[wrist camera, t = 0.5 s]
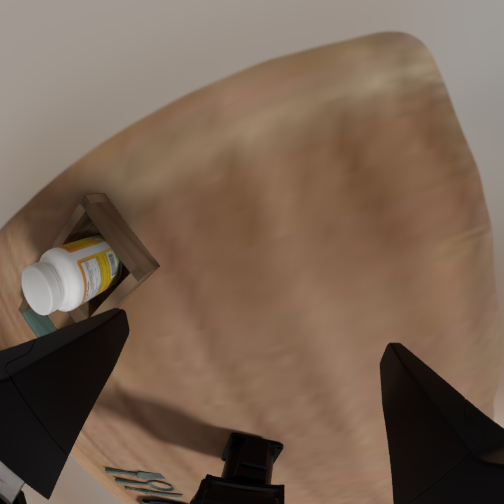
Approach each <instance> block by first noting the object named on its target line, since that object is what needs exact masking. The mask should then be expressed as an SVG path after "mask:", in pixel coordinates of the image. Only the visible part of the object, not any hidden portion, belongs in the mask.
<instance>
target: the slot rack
mask: <svg viewBox="0 0 504 504" xmlns="http://www.w3.org/2000/svg"><path fill="white" fill-rule="evenodd" d="M92 223H94V225H95V226H96V227H97V229H98V230H99V232H100V233H101V234H102V236H103V237H104V239H105V240H106V241H107V243H108V244H109V245H110V247H111V248H112V249H113V251H114V252H115V253H116V255H117V256H118V257H119V259H120V260H121V261H122V263H123V264H124V265H125V266H126V268H127V269H128V270H129V272H130V274H129V275H128V276H127V277H126V278H125V279H124V280H123V282H122V283H121V284H120V285H119V286H118V287H117V288H116V289H115V290H114V291H113V292H112V293H111V295H110V296H109V297H108V298H107V299H106V300H105V301H104V302H103V303H102V304H100V302H99V301H98V300H97V299H96V297H93V298H91V299H90V300H88V301H86V302H85V303H83V304H82V305H80V306H79V307H77V308H75V309H73V310H71V311H67V312H68V313H69V314H70V316H71V317H72V318H73V320H74V321H75V322H76V323H77V322H79V321H82V320H84V319H87V318H89V317H92V316H95V315H97V314H100V313H102V312H105V311H107V310H110V309H113V308H118V307H119V306H120V305H121V304H122V303H123V302H124V301H125V300H126V299H127V298H128V297H129V296H130V295H131V294H132V293H133V292H134V291H135V290H136V289H137V288H138V287H139V286H140V285H141V284H142V283H143V282H144V281H145V280H146V279H147V278H148V277H149V276H150V275H151V274H152V273H153V272H154V271H155V270H156V269H157V268H158V267H160V265H159V264H158V263H157V261H156V260H155V259H154V258H153V257H152V255H151V254H150V253H149V252H148V250H147V249H146V248H145V247H144V245H143V244H142V243H141V241H140V240H139V239H138V238H137V236H136V235H135V234H134V232H133V231H132V230H131V229H130V227H129V226H128V225H127V223H126V222H125V221H124V219H123V218H122V217H121V215H120V214H119V213H118V211H117V210H116V209H115V207H114V206H113V205H112V203H111V202H110V200H109V199H108V198H107V196H106V195H105V194H92V195H85V196H84V198H83V199H82V201H81V202H80V203H79V205H78V206H77V208H76V209H75V211H74V212H73V214H72V215H71V217H70V218H69V220H68V221H67V223H66V224H65V226H64V227H63V229H62V230H61V232H60V233H59V235H58V237H57V238H56V240H55V242H54V243H53V245H52V247H51V248H50V249H52V248H55V247H58V246H61V245H65V244H68V243H71V242H75V241H78V240H81V238H82V237H83V236H84V234H85V233H86V231H87V230H88V229H89V227H90V226H91V225H92ZM19 311H20V313H21V314H22V316H23V317H24V319H25V321H26V322H27V324H28V325H29V327H30V328H31V330H32V331H33V332H34V334H35V335H36V337H37V338H38V337H41V336H43V335H46V334H49V333H51V332H54V331H56V330H57V329H56V328H55V326H54V325H53V323H52V322H51V321H50V319H49V318H48V316H47V315H40V314H38V313H36V312H35V311H34V310H33V309H32V308H31V306H30V305H29V303H28V302H27V300H26V298H25V297H24V299H23V301H22V303H21V306H20V308H19Z"/></svg>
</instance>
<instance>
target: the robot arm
mask: <svg viewBox="0 0 504 504" xmlns="http://www.w3.org/2000/svg"><path fill="white" fill-rule="evenodd" d="M128 335H129V325H128V320H127V315H126V312H125V311H124V310H123V309H119V308H113V309H110V310H107V311H105V312H102V313H100V314H97V315H95V316H92V317H89V318H87V319H84V320H82V321H79V322H77V323H74V324H72V325H69V326H66V327H64V328H61V329H59V330H56V331H54V332H51V333H49V334H46V335H43V336H41V337H38V338H37V339H33V340H30V341H28V342H25V343H22V344H20V345H17V346H14V347H11V348H8V349H4V350H1V351H0V504H27V503H26V499H25V496H24V493H23V491H22V490H21V489H22V487H23V485H24V484H25V483H26V484H27V485H29V486H30V487H31V488H33V489H34V490H35V491H37V492H38V493H39V494H41V495H42V496H44V497H45V498H46V499H49V498H50V496H51V494H52V491H53V489H54V487H55V485H56V482H57V480H58V478H59V476H60V473H61V471H62V469H63V467H64V465H65V462H66V460H67V458H68V456H69V454H70V452H71V449H72V447H73V445H74V443H75V441H76V439H77V437H78V435H79V433H80V431H81V429H82V427H83V425H84V423H85V421H86V419H87V417H88V415H89V413H90V411H91V410H92V408H93V406H94V404H95V402H96V400H97V398H98V396H99V394H100V393H101V391H102V389H103V387H104V385H105V383H106V382H107V380H108V378H109V376H110V374H111V373H112V371H113V369H114V367H115V365H116V363H117V360H118V358H119V356H120V353H121V351H122V349H123V346H124V344H125V342H126V340H127V337H128ZM380 377H381V391H382V406H383V412H384V419H385V425H386V432H387V439H388V447H389V455H390V464H391V474H392V486H393V502H394V504H504V428H502V427H501V426H500V425H498V424H497V423H495V422H494V421H493V420H491V419H490V418H489V417H488V416H486V415H485V414H484V413H482V412H481V411H480V410H479V409H478V408H476V407H475V406H474V405H473V404H472V403H470V402H469V401H468V400H467V399H465V397H464V396H462V395H461V394H460V393H459V392H458V391H457V390H455V389H454V388H453V387H452V386H451V385H450V384H448V383H447V382H446V381H445V380H444V379H443V378H441V377H440V376H439V375H438V374H437V373H435V372H434V371H433V370H432V369H431V368H430V367H428V366H427V365H426V364H425V363H424V362H422V361H421V360H420V359H419V358H418V357H416V356H415V355H414V354H413V353H412V352H410V351H409V350H408V349H407V348H406V347H404V346H403V345H402V344H401V343H389V344H388V345H387V347H386V349H385V352H384V354H383V356H382V359H381V362H380ZM282 450H283V444H281V443H276V442H271V441H266V440H262V439H257V438H253V437H249V436H245V435H241V434H237V433H231V435H230V437H229V440H228V443H227V445H226V448H225V451H224V453H223V456H222V460H223V461H225V465H224V468H223V472H222V476H221V477H216V476H212V475H209V474H207V475H206V477H205V479H203V480H202V481H201V484H200V487H199V489H198V491H197V493H196V494H195V496H194V497H193V498H192V500H191V502H190V504H284V485H271V478H272V469H273V464H274V462H275V461H276V459H277V458H278V456H279V454H280V453H281V451H282Z"/></svg>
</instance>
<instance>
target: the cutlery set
mask: <svg viewBox="0 0 504 504" xmlns="http://www.w3.org/2000/svg"><path fill="white" fill-rule="evenodd" d="M105 471H106V472H107V473H117V474H128V475H132V476H136V477H137V478H140V477H141V478H142V479H165V478H162V477H163V476H159V475H161V474H157V473H149V472H143V471H139V472H137V473H134V472H130V471H123V470H117V469H110V468H106V469H105ZM115 481H116V482H117V483H124V484H132V485H149V486H150V487H152V488H155V489H157V490H162V491H173V490H174V488H173V487H172V486H171V485H169V484H166V483H164V482H160V481H150V482H149V483H140V482H131V481H126V480H121V479H117V478H116V479H115ZM151 482H158V483H164V484H166V485H169V486H171V488H169V489H164V488H159V487H157V486H154V485H153V484H152V483H151ZM125 489H126V490H127V489H129V490H135V491H139V492H143V493H145V494H150V495H152V494H157V495H163V496H171V497H181V496H182V495H183V494H174V493H164V492H155V491H151V490H148V491H147V490H146V489H144V490H138V489H132V488H128V487H126V486H125ZM143 501H144V499H143V500H142V502H141V503H140V504H173V503H168V502H163V501H149V502H145V503H144V502H143Z"/></svg>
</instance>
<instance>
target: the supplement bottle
mask: <svg viewBox="0 0 504 504" xmlns="http://www.w3.org/2000/svg"><path fill="white" fill-rule="evenodd" d="M122 266H123V264H122V261H121V260H120V259H119V257H118V256H117V255H116V253H115V252H114V251H113V249H112V248H111V247H110V245H109V244H108V243H107V241H106V240H105V239H104V237H103V236H101V235H96V236H91V237H88V238H85V239H81V240H78V241H75V242H71V243H68V244H65V245H61V246H58V247H55V248H52V249H50V250H48V251H46V252H45V253H44V254H43V255H42V256H41V258H40V260H39V262H36V263H34V264H32V265H29V266H27V267H26V268H25V269H24V271H23V273H22V288H23V292H24V295H25V298H26V300H27V302H28V303H29V305H30V306H31V308H32V309H33V310H34V311H35V312H36V313H38V314H40V315H48V314H50V313H52V312H54V311H56V310H57V309H58V310H60V311H71V310H73V309H75V308H77V307H79V306H80V305H82V304H83V303H85V302H86V301H88V300H90V299H91V298H93V297H95V296H96V295H98V294H100V293H101V292H103V291H105V290H106V289H108V288H110V287H111V286H113V285H114V284H116V283H117V282H118V280H119V279H120V277H121V274H122Z"/></svg>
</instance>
